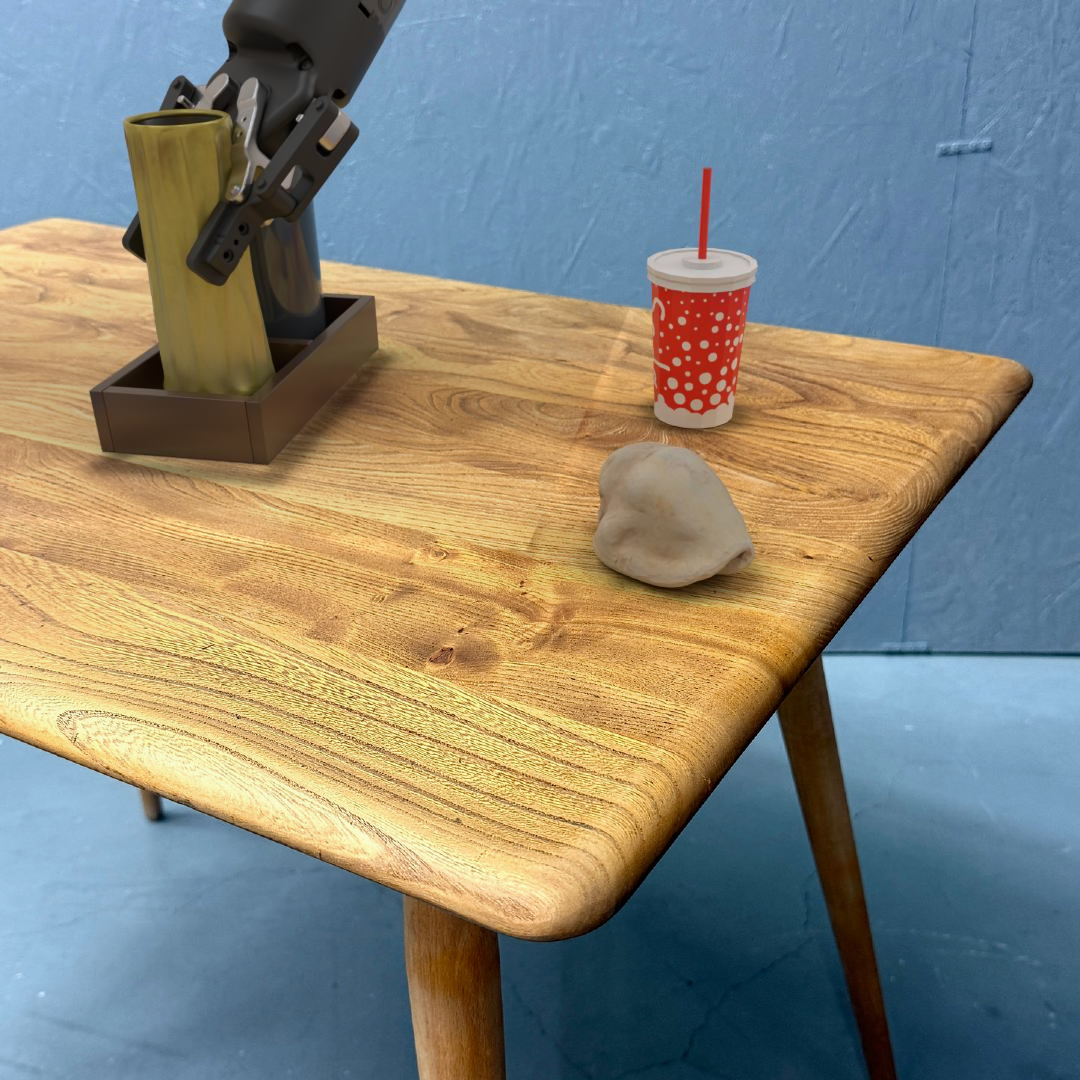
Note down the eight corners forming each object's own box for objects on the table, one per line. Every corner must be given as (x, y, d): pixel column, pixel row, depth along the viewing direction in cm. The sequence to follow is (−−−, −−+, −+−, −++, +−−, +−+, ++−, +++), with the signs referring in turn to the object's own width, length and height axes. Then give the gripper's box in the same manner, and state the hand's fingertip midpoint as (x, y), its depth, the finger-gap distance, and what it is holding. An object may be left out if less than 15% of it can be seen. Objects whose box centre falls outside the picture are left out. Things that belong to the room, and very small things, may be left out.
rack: (103, 464, 63) (88, 390, 60) (245, 350, 78) (236, 288, 76) (269, 478, 61) (259, 402, 59) (380, 358, 77) (374, 295, 74)
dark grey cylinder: (218, 382, 71) (181, 145, 64) (257, 349, 76) (227, 127, 69) (310, 388, 70) (282, 148, 63) (343, 354, 75) (321, 129, 68)
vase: (264, 405, 62) (223, 126, 55) (150, 407, 62) (95, 129, 55) (285, 364, 67) (250, 106, 60) (180, 366, 67) (133, 108, 60)
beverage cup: (653, 388, 71) (663, 154, 64) (753, 399, 70) (773, 160, 63) (630, 426, 66) (637, 176, 59) (736, 439, 65) (756, 183, 58)
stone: (730, 573, 57) (629, 447, 57) (800, 524, 51) (688, 385, 52) (639, 648, 53) (533, 513, 54) (704, 604, 48) (586, 455, 49)
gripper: (197, -60, 63) (40, 204, 61) (372, -57, 54) (197, 249, 53) (287, 37, 69) (147, 280, 67) (457, 53, 61) (303, 331, 59)
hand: (170, 265), depth 60 cm, fingers closed on vase, 5 cm apart
